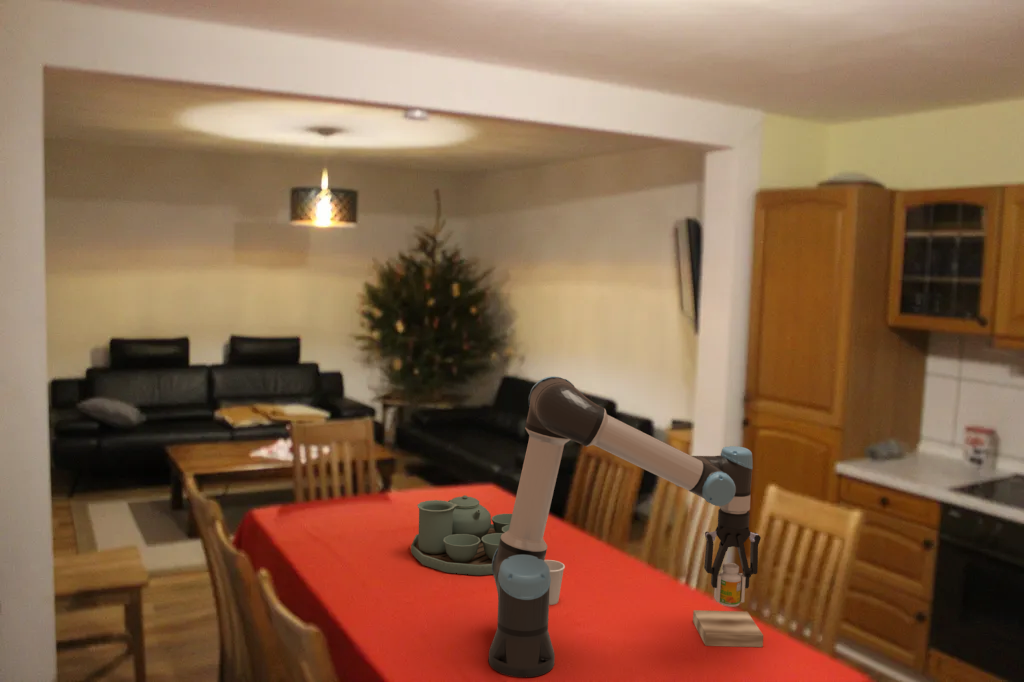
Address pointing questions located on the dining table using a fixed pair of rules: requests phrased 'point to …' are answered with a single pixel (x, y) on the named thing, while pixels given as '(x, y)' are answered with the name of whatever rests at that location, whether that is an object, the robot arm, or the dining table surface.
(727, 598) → the supplement bottle
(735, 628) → the birch stand
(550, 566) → the dixie cup
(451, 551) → the tea set
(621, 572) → the dining table surface
